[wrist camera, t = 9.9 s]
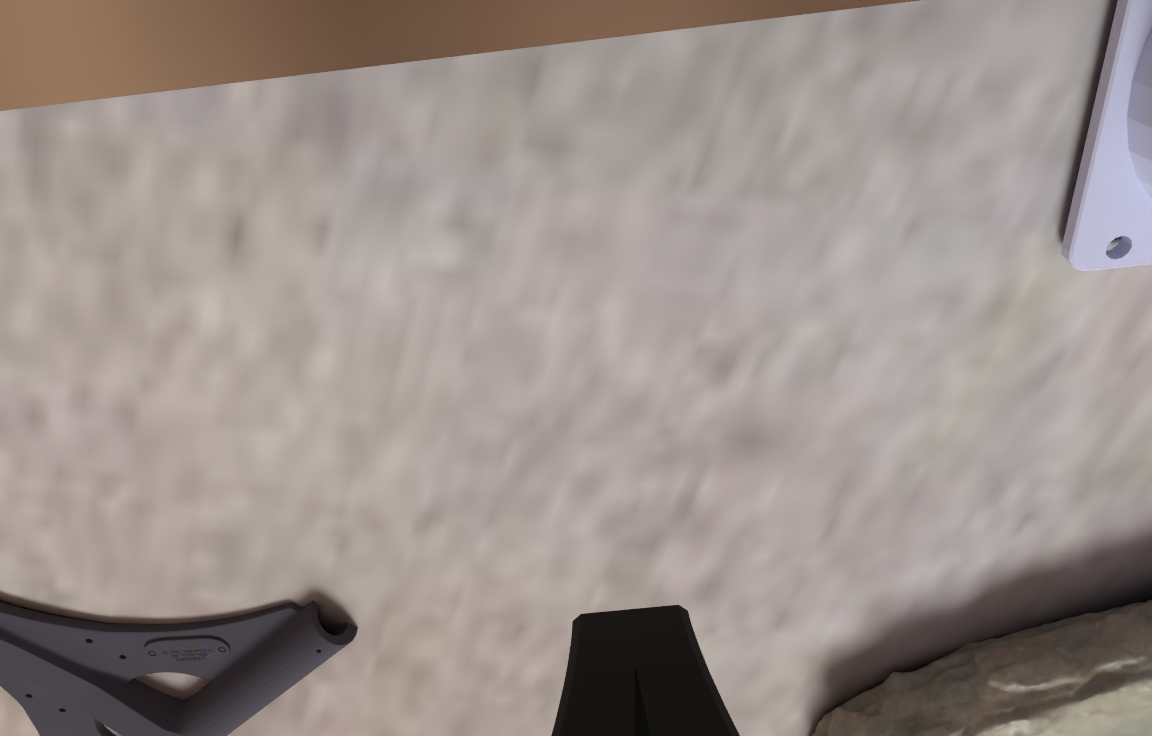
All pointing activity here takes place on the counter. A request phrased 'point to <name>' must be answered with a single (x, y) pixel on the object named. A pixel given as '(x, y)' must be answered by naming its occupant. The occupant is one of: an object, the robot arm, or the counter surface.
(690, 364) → the counter surface
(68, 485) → the counter surface
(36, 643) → the bracket
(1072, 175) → the counter surface
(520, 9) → the walnut shelf
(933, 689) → the elongated rock
